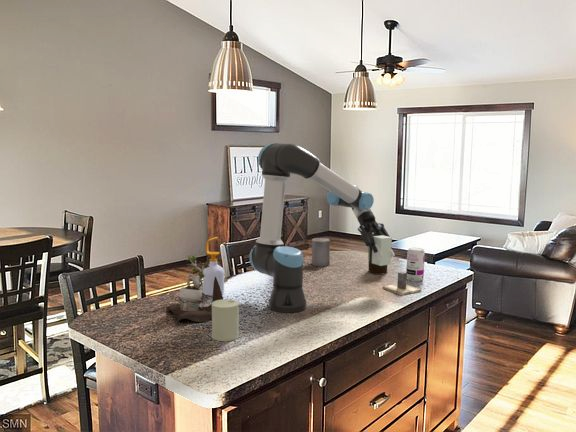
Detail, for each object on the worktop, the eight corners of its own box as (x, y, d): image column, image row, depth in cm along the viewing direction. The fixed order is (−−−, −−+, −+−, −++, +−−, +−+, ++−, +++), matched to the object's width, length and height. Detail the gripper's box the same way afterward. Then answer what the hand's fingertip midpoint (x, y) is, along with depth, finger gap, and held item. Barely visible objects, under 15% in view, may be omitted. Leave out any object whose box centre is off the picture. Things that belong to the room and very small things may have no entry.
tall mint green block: (380, 265, 225) (381, 238, 224) (371, 263, 230) (372, 236, 229) (390, 264, 228) (391, 237, 227) (381, 261, 233) (382, 235, 232)
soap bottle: (222, 296, 221) (222, 239, 217) (201, 295, 221) (200, 239, 218) (225, 290, 230) (225, 235, 226) (205, 290, 230) (204, 235, 226)
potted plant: (162, 316, 202) (174, 253, 205) (208, 322, 210) (219, 260, 214) (177, 323, 184) (190, 254, 187) (226, 329, 193) (237, 262, 196)
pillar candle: (320, 261, 289) (321, 234, 287) (333, 264, 282) (333, 237, 280) (307, 263, 283) (308, 236, 281) (320, 267, 276) (320, 239, 274)
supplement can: (421, 277, 257) (423, 247, 255) (424, 281, 249) (426, 251, 247) (405, 276, 258) (406, 247, 256) (407, 281, 250) (408, 250, 248)
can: (244, 336, 176) (244, 301, 174) (224, 343, 169) (223, 307, 168) (226, 329, 182) (226, 296, 181) (205, 336, 175) (205, 301, 174)
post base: (400, 295, 226) (401, 277, 225) (382, 288, 237) (383, 271, 236) (421, 291, 233) (422, 274, 231) (402, 285, 243) (403, 268, 242)
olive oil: (389, 270, 271) (391, 222, 267) (386, 275, 261) (388, 225, 257) (369, 268, 274) (371, 221, 271) (365, 273, 264) (367, 224, 261)
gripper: (376, 219, 245) (398, 260, 233) (344, 221, 235) (365, 264, 224) (384, 209, 239) (407, 250, 228) (351, 211, 230) (374, 254, 218)
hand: (386, 257), depth 226 cm, fingers closed on tall mint green block, 6 cm apart
